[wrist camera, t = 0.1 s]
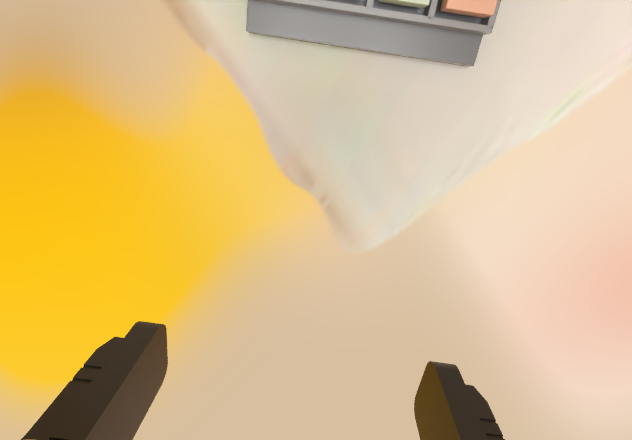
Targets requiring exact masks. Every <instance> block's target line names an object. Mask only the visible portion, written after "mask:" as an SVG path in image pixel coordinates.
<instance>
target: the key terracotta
mask: <svg viewBox="0 0 632 440" xmlns="http://www.w3.org/2000/svg"><path fill="white" fill-rule="evenodd" d="M497 1H498V0H442V4H441V8H440V11H442V12H448V13H454V14H461V15H467V16H474V17H480V18H486V17H489V16H492V15H493V14H494V11H495V8H496V4H497Z"/></svg>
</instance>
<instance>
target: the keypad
mask: <svg viewBox="0 0 632 440" xmlns="http://www.w3.org/2000/svg"><path fill="white" fill-rule="evenodd" d="M500 2H501V0H498V1H497V4H496V8H495V11H494V14H493V15H492V16H489V17H486V18H480V17H474V16H467V15H461V14H454V13H448V12H442V11H440V8H441V4H442V0H430V2H429V5H428V6H427V7H425V8H423V9H422V8H416V7H410V6H403V5H397V4H390V3H384V2H379V0H248V8H247V28H246V31H247V32H249V33H255V34H261V35H268V36H274V37H281V38H287V39H294V40H300V41H307V42H313V43H320V44H327V45H333V46H340V47H346V48H353V49H359V50H366V51H372V52H379V53H385V54H392V55H399V56H405V57H412V58H418V59H425V60H431V61H438V62H444V63H451V64H457V65H464V66H474V63H475V60H476V56H477V53H478V49H479V46H480V43H481V39H482V36H483V35H485V34H490V33H491V32H492V29H493V26H494V22H495V19H496V16H497V12H498V9H499V6H500Z"/></svg>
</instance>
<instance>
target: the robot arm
mask: <svg viewBox="0 0 632 440" xmlns="http://www.w3.org/2000/svg"><path fill="white" fill-rule="evenodd" d="M167 359H168V357H167V335H166V326H165V325H163V324H155V323H149V322H141V321H139V322H137V323H135V325H134V326H133V327H132V328H131V330H130V331H129V332H128V334H127V335H126V336H125V338H119V337H114V338H112V339H111V340H109V341H108V342H107V343H105V344H104V345H102V346H101V347H99V348H98V349H96V351H95V352H94V353H93V354H92V355H91V357H90V358H89V359H88V360H87V361H86V363H85V364H84V367H83V368H81V369H80V370H79V371H78V372H77V374H76V375H75V376H74V377H73V380H72V381H70V382H69V383H68V384H67V386H66V387H65V388H64V389H63V390H62V392H61V393H60V394H59V395H58V396H57V398H56V399H55V400H54V402H53V403H52V404H51V405H50V406H49V407H48V409H47V410H46V411H45V412H44V414H43V415H42V416H41V417H40V418H39V419H38V421H37V422H36V423H35V424H34V425H33V427H32V428H31V429H30V430H29V431H28V433H27V434H26V435H25V436H24V437H23V438H22V439H21V440H132V439H133V437H134V436H135V434H136V432H137V430H138V428H139V426H140V424H141V422H142V421H143V419H144V417H145V415H146V413H147V411H148V409H149V407H150V406H151V404H152V402H153V400H154V398H155V396H156V394H157V392H158V390H159V388H160V387H161V385H162V383H163V380H164V377H165V374H166V370H167V364H168V360H167ZM414 405H415V407H414V411H415V419H416V423H417V427H418V431H419V436H420V440H505V439H503V437H502V436H503V435H502V433H501V431H500V428H499V426H498V424H496V422H495V421H496V420H495V418H494V415H493V414H492V411H491V409H490V407H489V405H488V403H487V401H486V400H485V399H484V398H483V397H482V395H481V394H480V393H479V392H478V391H477V390H476V388H474V386H471V385H465V383H464V381H463V379H462V376H461V374H460V372H459V369H458V368H457V366H456V365H453V364H446V363H438V362H431V361H430V362H428V364H427V366H426V368H425V371H424V374H423V377H422V380H421V382H420V385H419V388H418V391H417V394H416V397H415V404H414Z"/></svg>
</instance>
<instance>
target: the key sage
mask: <svg viewBox="0 0 632 440" xmlns="http://www.w3.org/2000/svg"><path fill="white" fill-rule="evenodd" d="M379 2H384V3H390V4H397V5H403V6H410V7H416V8H422V9H423V8H425V7H427V6H428V5H429V2H430V0H379Z"/></svg>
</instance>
